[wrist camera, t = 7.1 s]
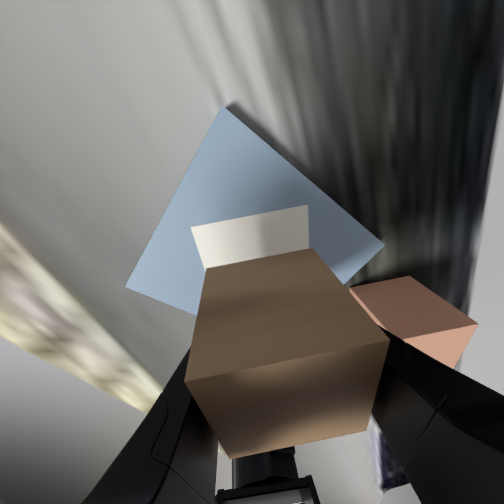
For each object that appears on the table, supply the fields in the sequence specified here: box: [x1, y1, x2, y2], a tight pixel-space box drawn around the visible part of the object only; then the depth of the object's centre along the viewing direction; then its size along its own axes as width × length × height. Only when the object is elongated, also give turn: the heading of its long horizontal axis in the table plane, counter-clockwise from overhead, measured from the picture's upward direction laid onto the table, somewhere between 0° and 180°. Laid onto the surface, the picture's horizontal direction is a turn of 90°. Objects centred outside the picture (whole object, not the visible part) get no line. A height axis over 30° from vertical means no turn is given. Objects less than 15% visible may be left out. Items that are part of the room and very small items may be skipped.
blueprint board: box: [125, 106, 385, 316], centre depth 13 cm, size 12×13×1 cm
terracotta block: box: [349, 276, 478, 369], centre depth 15 cm, size 5×5×5 cm
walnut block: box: [184, 248, 390, 459], centre depth 8 cm, size 5×5×5 cm
